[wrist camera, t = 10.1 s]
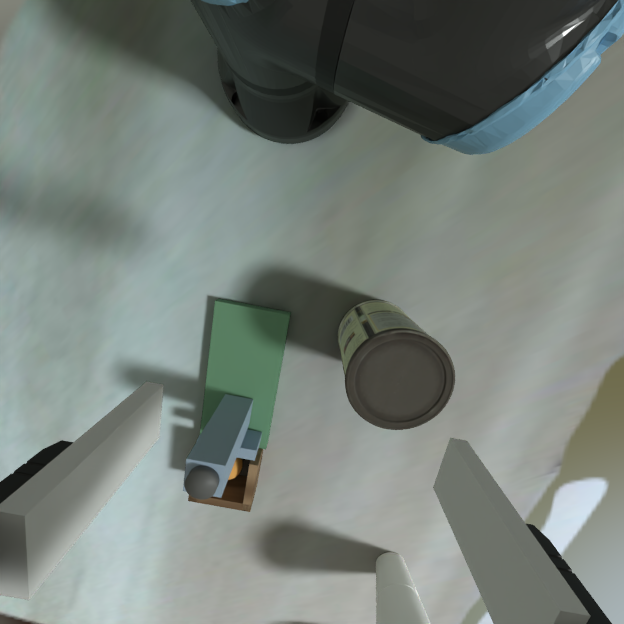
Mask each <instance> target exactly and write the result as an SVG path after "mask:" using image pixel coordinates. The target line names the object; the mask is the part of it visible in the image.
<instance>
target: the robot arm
mask: <svg viewBox="0 0 624 624" xmlns="http://www.w3.org/2000/svg"><path fill="white" fill-rule="evenodd" d="M191 2H192V3H193V5H194V7H195V9H196V10H197V12H198V14H199V16H200V17H201V19H202V21H203V23H204V24H205V26H206V28H207V30H208V31H209V33H210V35H211V37H212V38H213V40H214V42H215V44H216V46H217V49H218V68H219V74H220V78H221V82H222V85H223V88H224V91H225V93H226V96H227V98H228V100H229V102H230V103H231V105H232V107H233V108H234V110H235V111H236V113H237V114H238V115H239V117H240V118H241V119H242V121H243V122H244V123H245V124H246V125H247V126H248V127H249V128H250V129H252V130H253V131H254V132H255V133H257V134H259V135H260V136H262V137H264V138H266V139H268V140H271V141H274V142H278V143H286V144H294V143H301V142H305V141H309V140H311V139H314V138H316V137H318V136H319V135H321V134H323V133H324V132H325V131H327V130H328V129H329V128H330V127H331V126H332V125H333V124H334V123H335V122H336V121H337V120H338V119H339V117H340V116H341V115H342V113H343V111H344V110H345V108H346V106H347V104H348V102H349V101H350V102H352V103H354V104H356V105H359V106H361V107H363V108H365V109H367V110H369V111H371V112H373V113H376V114H378V115H380V116H382V117H384V118H386V119H388V120H390V121H393V122H395V123H397V124H399V125H401V126H403V127H405V128H407V129H410V130H412V131H414V132H416V133H418V134H420V135H421V137H422V139H424V140H425V141H427V142H429V143H432V144H433V143H434V144H442V145H444V146H447V147H449V148H452V149H454V150H456V151H459V152H461V153H464V154H469V155H473V154H486V153H490V152H493V151H496V150H498V149H500V148H503V147H505V146H507V145H509V144H510V143H512V142H514V141H515V140H517V139H519V138H520V137H522V136H523V135H525V134H526V133H527V132H529V131H530V130H531V129H533V128H534V127H535V126H537V125H538V124H539V123H540V122H542V121H543V120H544V119H545V118H547V117H548V116H549V115H550V114H551V113H552V112H554V111H555V110H556V109H557V108H558V107H559V106H560V105H561V104H562V103H563V102H565V101H566V100H567V99H568V98H569V97H570V96H571V95H572V94H573V93H574V92H575V91H576V90H577V89H578V88H579V87H580V86H581V84H582V83H583V82H584V81H585V80H586V79H587V78H588V77H589V76H590V75H591V73H592V72H593V71H594V70H595V69H596V68H597V66H598V65H599V64H600V63H601V56H600V55H601V54H602V53H603V52H604V51H605V50H606V49H607V48H608V47H610V46H611V45H612V44H614V43H615V42H616V41H617V40H619V39H620V38H621V36H622V35H623V33H624V0H191ZM162 398H163V384H158V383H152V382H147V381H146V382H145V383H144V384H143V385H142V386H141V387H139V388H138V389H137V390H136V391H135V392H133V393H132V394H131V395H130V396H129V397H127V398H126V399H125V400H124V401H123V402H121V403H120V404H119V405H118V406H117V407H115V408H114V409H113V410H112V411H111V412H109V413H108V414H107V415H106V416H105V417H103V418H102V419H101V420H100V421H99V422H98V423H96V424H95V425H94V426H93V427H92V428H90V429H89V430H88V431H87V432H86V433H84V434H83V435H82V436H81V437H80V438H78V439H77V440H76V441H75V442H74V443H73V442H68V441H60V442H57V443H55V444H53V445H51V446H49V447H47V448H45V449H43V450H41V451H40V452H39V453H38V454H36V455H35V456H34V457H32V458H31V459H30V460H28V461H27V463H26V464H23V465H22V466H21V467H19V468H18V469H17V470H15V471H14V473H13V474H10V475H9V476H8V477H6V478H5V479H4V480H2V481H1V482H0V595H2V596H8V597H14V598H19V599H25V600H30V599H31V597H32V596H33V595H34V594H35V592H36V591H37V590H38V589H39V587H40V586H41V585H42V584H43V582H44V581H45V580H46V579H47V577H48V576H49V575H50V574H51V572H52V571H53V570H54V569H55V567H56V566H57V565H58V564H59V562H60V561H61V560H62V559H63V557H64V556H65V555H66V554H67V552H68V551H69V550H70V549H71V547H72V546H73V545H74V544H75V542H76V541H77V540H78V539H79V537H80V536H81V535H82V534H83V532H84V531H85V530H86V529H87V527H88V526H89V525H90V524H91V522H92V521H93V520H94V519H95V517H96V516H97V515H98V514H99V512H100V511H101V510H102V509H103V507H104V506H105V505H106V504H107V502H108V501H109V500H110V499H111V497H112V496H113V495H114V494H115V492H116V491H117V490H118V489H119V487H120V486H121V485H122V484H123V482H124V481H125V480H126V479H127V477H128V476H129V475H130V474H131V472H132V471H133V470H134V469H135V467H136V466H137V465H138V464H139V462H140V461H141V460H142V459H143V457H144V456H145V455H146V454H147V452H148V451H149V450H150V449H151V447H152V446H153V445H154V444H155V442H156V441H157V440H158V439H159V437H160V424H161V411H162ZM433 488H434V490H435V492H436V495H437V497H438V499H439V501H440V504H441V506H442V508H443V510H444V513H445V515H446V517H447V519H448V522H449V524H450V526H451V528H452V531H453V533H454V535H455V537H456V540H457V542H458V544H459V547H460V549H461V551H462V553H463V556H464V558H465V560H466V562H467V565H468V567H469V569H470V571H471V574H472V576H473V578H474V580H475V583H476V585H477V587H478V589H479V592H480V594H481V596H482V598H483V600H484V603H485V605H486V607H487V610H488V612H489V614H490V616H491V619H492V621H493V623H494V624H612V623H611V622H610V621H609V619H608V618H607V617H606V615H605V614H604V613H603V611H602V610H601V609H600V607H599V606H598V604H597V603H596V602H595V601H594V599H593V598H592V597H591V595H590V594H589V593H588V591H587V590H586V589H585V587H584V586H583V585H582V583H581V582H580V580H579V579H578V578H577V576H576V575H575V574H574V573H572V570H571V568H570V567H569V566H568V564H567V563H566V562H565V561H564V559H562V558H561V555H560V554H559V552H558V551H557V550H556V548H555V547H554V546H553V544H552V543H551V542H550V540H549V539H548V538H547V537H546V536H544V535H543V534H542V533H541V532H540V531H539V530H538V529H537V528H536V527H535V526H534V525H531V524H525V522H524V521H523V520H522V518H521V517H520V515H519V514H518V513H517V511H516V510H515V508H514V507H513V505H512V504H511V503H510V501H509V500H508V498H507V497H506V496H505V494H504V493H503V491H502V490H501V488H500V487H499V486H498V484H497V483H496V481H495V480H494V479H493V477H492V476H491V474H490V473H489V471H488V470H487V469H486V467H485V466H484V464H483V463H482V462H481V460H480V459H479V457H478V456H477V455H476V453H475V452H474V450H473V449H472V447H471V446H470V445H469V443H468V442H467V441H465V440H460V439H454V438H450V440H449V443H448V446H447V449H446V452H445V455H444V458H443V461H442V463H441V466H440V469H439V472H438V475H437V478H436V481H435V484H434V487H433Z"/></svg>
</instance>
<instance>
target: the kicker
mask: <svg viewBox="0 0 624 624" xmlns="http://www.w3.org/2000/svg"><path fill="white" fill-rule="evenodd" d="M252 404H253V399H249V398H244V397H238V396H233V395H227V394H225V396H224V397H223V399H222V401H221V402H220V404H219V406H218V407H217V409H216V411H215V412H214V414H213V415H212V417H211V419H210V420H209V422H208V423H207V424H206V426H205V428H204V429H203V431H202V432H201V434H200V436H199V437H198V439H197V442H196V444H195V445H194V447H193V449H192V450H191V452H190V454H189V455H188V457H187V459H186V467H185V477H184V487H183V491H186V492H187V493H188V494H189V495H190V496H192V497H193V498H196V499H200V500H204V499H208V498H210V497H212V496H214V497H219V498H221V497H222V494H223V492H224V489H225V486H226V484H227V481H228V478H229V476H230V473H231V471H232V468H233V465H234V463H235V460H236V458H242V459H248V460H253V461H255V458H256V455H257V451H258V448H259V445H260V441H261V435H262V432H259V431H253V430H248V426H249V423H250V417H251V410H252Z"/></svg>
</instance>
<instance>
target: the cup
mask: <svg viewBox="0 0 624 624" xmlns="http://www.w3.org/2000/svg"><path fill="white" fill-rule="evenodd" d="M376 603H377V605H376V624H431V623H430V621H429V618H428V616H427V614H426V611H425V609H424V607H423V604H422V602H421V600H420V598H419V595H418V592H417V590H416V588H415V585H414V583H413V580H412V578H411V576H410V573H409V571H408V569H407V566H406V564H405V561H404V559H403V558H402V556H400V555H399V554H397V553H393V552H387V553H384V554H382V555H380V556H379V557H378V558H377V560H376Z"/></svg>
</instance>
